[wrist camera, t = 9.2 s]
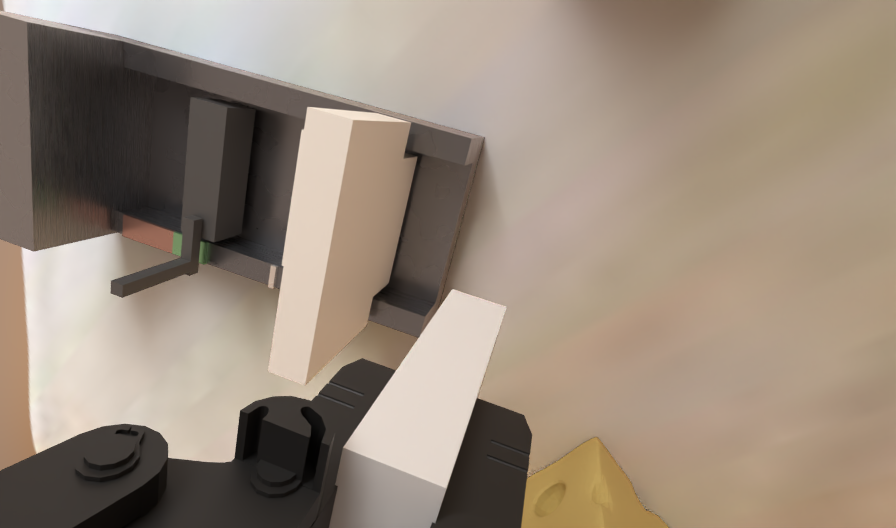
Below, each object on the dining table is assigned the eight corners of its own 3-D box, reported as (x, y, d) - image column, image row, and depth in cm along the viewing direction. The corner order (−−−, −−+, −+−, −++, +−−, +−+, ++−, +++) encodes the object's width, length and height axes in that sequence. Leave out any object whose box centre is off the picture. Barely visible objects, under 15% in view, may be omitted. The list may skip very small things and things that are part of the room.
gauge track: (484, 137, 24) (447, 140, 17) (437, 313, 27) (387, 382, 20) (117, 35, 27) (-52, -1, 20) (113, 203, 31) (-34, 226, 23)
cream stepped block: (425, 123, 23) (353, 120, 15) (382, 310, 26) (304, 385, 18) (329, 96, 23) (214, 80, 16) (299, 281, 27) (191, 342, 19)
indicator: (255, 109, 25) (144, 102, 18) (237, 264, 27) (135, 306, 21) (221, 99, 25) (100, 89, 18) (207, 254, 28) (97, 292, 21)
